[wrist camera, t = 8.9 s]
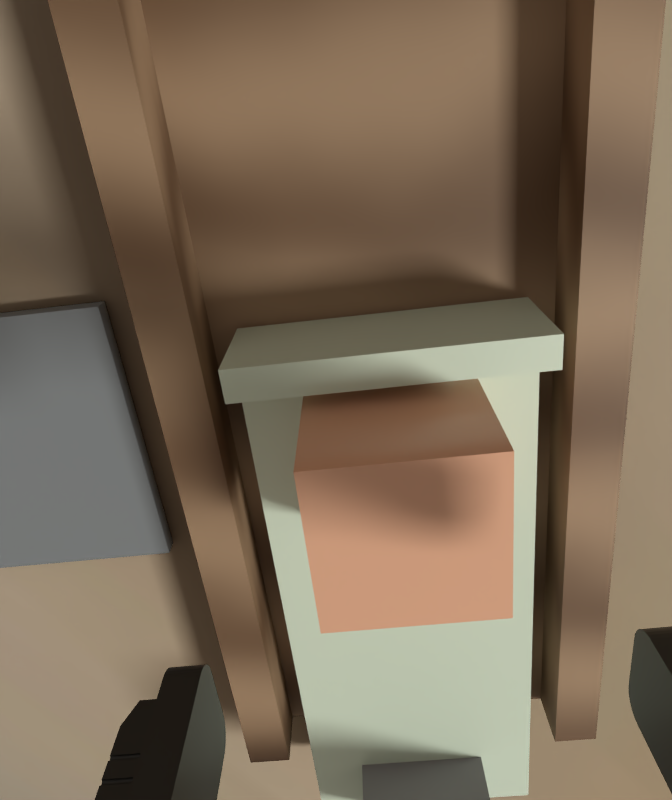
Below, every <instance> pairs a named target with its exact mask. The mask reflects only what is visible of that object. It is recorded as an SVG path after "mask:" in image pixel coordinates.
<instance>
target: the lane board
mask: <svg viewBox="0 0 672 800" xmlns="http://www.w3.org/2000/svg"><path fill="white" fill-rule="evenodd" d="M48 4H49V8H50V12H51V15H52V19H53V23H54V27H55V30H56V34H57V38H58V42H59V45H60V49H61V53H62V56H63V60H64V64H65V68H66V71H67V75H68V79H69V83H70V86H71V90H72V94H73V98H74V101H75V105H76V109H77V113H78V116H79V120H80V124H81V128H82V131H83V135H84V139H85V143H86V146H87V150H88V154H89V158H90V161H91V165H92V169H93V173H94V176H95V180H96V184H97V188H98V191H99V195H100V199H101V203H102V206H103V210H104V214H105V218H106V221H107V225H108V229H109V233H110V236H111V240H112V244H113V248H114V251H115V255H116V259H117V263H118V266H119V270H120V274H121V278H122V281H123V285H124V289H125V293H126V296H127V300H128V304H129V308H130V311H131V315H132V319H133V323H134V326H135V330H136V334H137V338H138V341H139V345H140V349H141V353H142V356H143V360H144V364H145V368H146V371H147V375H148V379H149V383H150V386H151V390H152V394H153V398H154V401H155V405H156V409H157V413H158V416H159V420H160V424H161V428H162V431H163V435H164V439H165V443H166V446H167V450H168V454H169V458H170V461H171V465H172V469H173V473H174V476H175V480H176V484H177V488H178V491H179V495H180V499H181V503H182V506H183V510H184V514H185V517H186V521H187V525H188V529H189V532H190V536H191V540H192V544H193V547H194V551H195V555H196V559H197V562H198V566H199V570H200V574H201V577H202V581H203V585H204V589H205V592H206V596H207V600H208V604H209V607H210V611H211V615H212V619H213V622H214V626H215V630H216V634H217V637H218V641H219V645H220V649H221V652H222V656H223V660H224V664H225V667H226V671H227V675H228V679H229V682H230V686H231V690H232V694H233V697H234V701H235V705H236V709H237V712H238V716H239V720H240V724H241V727H242V731H243V735H244V739H245V742H246V746H247V750H248V754H249V757H250V761H251V762H265V761H279V760H289V756H290V743H291V731H292V718H293V716H305V715H304V710H303V705H302V700H301V695H300V690H299V685H298V680H297V675H296V670H295V665H294V660H293V655H292V650H291V645H290V640H289V635H288V630H287V625H286V620H285V615H284V610H283V605H282V600H281V595H280V590H279V585H278V580H277V575H276V570H275V565H274V560H273V555H272V550H271V545H270V540H269V535H268V530H267V525H266V520H265V515H264V510H263V505H262V500H261V495H260V490H259V485H258V480H257V475H256V470H255V465H254V460H253V455H252V450H251V445H250V440H249V435H248V430H247V425H246V420H245V415H244V410H243V405H242V403H233V404H225V401H224V396H223V392H222V387H221V382H220V377H219V373H218V369H219V367H220V365H221V363H222V361H223V358H224V356H225V354H226V352H227V350H228V348H229V346H230V343H231V341H232V339H233V337H234V335H235V333H236V330H237V328H246V327H255V326H265V325H274V324H283V323H292V322H301V321H311V320H320V319H329V318H338V317H347V316H357V315H366V314H375V313H384V312H393V311H403V310H412V309H421V308H430V307H439V306H448V305H458V304H467V303H476V302H485V301H494V300H504V299H513V298H522V297H528V298H529V299H530V300H531V301H532V302H533V303H534V304H535V305H536V306H537V307H538V308H539V309H540V310H541V311H542V312H543V313H544V314H545V315H546V316H547V317H548V318H549V319H550V320H551V321H552V322H553V323H554V324H555V325H556V326H557V327H558V328H559V329H560V330H561V331H562V332H563V333H564V346H563V369H562V370H556V371H547V372H540V374H539V411H538V448H537V485H536V522H535V559H534V596H533V633H532V670H531V699H539V698H541V701H542V704H543V707H544V710H545V713H546V716H547V719H548V722H549V725H550V728H551V731H552V734H553V736H554V739H555V741H568V740H583V739H596V730H597V719H598V709H599V698H600V688H601V677H602V667H603V656H604V645H605V635H606V624H607V614H608V603H609V593H610V582H611V572H612V561H613V551H614V540H615V530H616V519H617V509H618V498H619V488H620V477H621V467H622V456H623V446H624V435H625V425H626V414H627V403H628V393H629V382H630V372H631V361H632V351H633V340H634V330H635V319H636V309H637V298H638V288H639V277H640V267H641V256H642V246H643V235H644V225H645V214H646V204H647V193H648V183H649V172H650V161H651V151H652V140H653V130H654V119H655V109H656V98H657V88H658V77H659V67H660V56H661V46H662V35H663V25H664V14H665V4H666V0H48Z"/></svg>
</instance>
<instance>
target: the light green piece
mask: <svg viewBox="0 0 672 800" xmlns="http://www.w3.org/2000/svg"><path fill="white" fill-rule="evenodd" d="M563 346H564V333H563V332H562V331H561V330H560V329H559V328H558V327H557V326H556V325H555V324H554V323H553V322H552V321H551V320H550V319H549V318H548V317H547V316H546V315H545V314H544V313H543V312H542V311H541V310H540V309H539V308H538V307H537V306H536V305H535V304H534V303H533V302H532V301H531V300H530V299H529V298H528V297H522V298H513V299H504V300H494V301H485V302H476V303H467V304H458V305H448V306H439V307H430V308H421V309H412V310H403V311H393V312H384V313H375V314H366V315H357V316H347V317H338V318H329V319H320V320H311V321H301V322H292V323H283V324H274V325H265V326H255V327H246V328H237V330H236V333H235V335H234V337H233V339H232V341H231V343H230V346H229V348H228V350H227V352H226V354H225V356H224V358H223V361H222V363H221V365H220V367H219V369H218V373H219V377H220V382H221V387H222V392H223V396H224V401H225V404H233V403H242V405H243V410H244V415H245V420H246V425H247V430H248V435H249V440H250V445H251V450H252V455H253V460H254V465H255V470H256V475H257V480H258V485H259V490H260V495H261V500H262V505H263V510H264V515H265V520H266V525H267V530H268V535H269V540H270V545H271V550H272V555H273V560H274V565H275V570H276V575H277V580H278V585H279V590H280V595H281V600H282V605H283V610H284V615H285V620H286V625H287V630H288V635H289V640H290V645H291V650H292V655H293V660H294V665H295V670H296V675H297V680H298V685H299V690H300V695H301V700H302V705H303V710H304V715H305V720H306V725H307V730H308V735H309V740H310V745H311V750H312V755H313V760H314V765H315V770H316V775H317V780H318V785H319V790H320V795H321V800H490V797H504V796H520V795H528V781H529V744H530V707H531V670H532V633H533V596H534V559H535V522H536V485H537V448H538V411H539V374H540V372H547V371H556V370H562V369H563ZM468 379H478V380H479V382H480V384H481V386H482V388H483V390H484V392H485V394H486V396H487V398H488V400H489V402H490V404H491V406H492V408H493V410H494V412H495V414H496V416H497V418H498V420H499V422H500V424H501V426H502V428H503V430H504V432H505V434H506V436H507V438H508V440H509V442H510V444H511V446H512V448H513V450H514V539H513V618H509V619H496V620H484V621H471V622H459V623H447V624H434V625H422V626H409V627H397V628H384V629H372V630H359V631H347V632H335V633H322V634H321V632H320V626H319V620H318V614H317V608H316V603H315V597H314V591H313V585H312V579H311V573H310V567H309V561H308V555H307V550H306V544H305V538H304V532H303V526H302V520H301V514H300V508H299V502H298V497H297V491H296V485H295V479H294V473H293V471H294V463H295V456H296V448H297V440H298V433H299V425H300V417H301V409H302V402H303V396H311V395H321V394H331V393H341V392H350V391H360V390H370V389H380V388H390V387H399V386H409V385H419V384H429V383H439V382H448V381H458V380H468Z"/></svg>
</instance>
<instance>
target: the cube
mask: <svg viewBox="0 0 672 800" xmlns="http://www.w3.org/2000/svg"><path fill="white" fill-rule="evenodd" d="M293 473H294V479H295V485H296V491H297V497H298V502H299V508H300V514H301V520H302V526H303V532H304V538H305V544H306V550H307V555H308V561H309V567H310V573H311V579H312V585H313V591H314V597H315V603H316V608H317V614H318V620H319V626H320V632H321V634H322V633H335V632H347V631H359V630H372V629H384V628H397V627H409V626H422V625H434V624H447V623H459V622H471V621H484V620H496V619H509V618H513V539H514V450H513V448H512V446H511V444H510V442H509V440H508V438H507V436H506V434H505V432H504V430H503V428H502V426H501V424H500V422H499V420H498V418H497V416H496V414H495V412H494V410H493V408H492V406H491V404H490V402H489V400H488V398H487V396H486V394H485V392H484V390H483V388H482V386H481V384H480V382H479V380H478V379H468V380H458V381H448V382H439V383H429V384H419V385H409V386H399V387H390V388H380V389H370V390H360V391H350V392H341V393H331V394H321V395H311V396H303V402H302V409H301V417H300V425H299V433H298V440H297V448H296V456H295V463H294V471H293Z"/></svg>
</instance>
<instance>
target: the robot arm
mask: <svg viewBox="0 0 672 800" xmlns="http://www.w3.org/2000/svg"><path fill="white" fill-rule="evenodd" d="M629 698H630V703H631V707H632V711H633V714H634V717H635V720H636V722H637V724H638V726H639V728H640V730H641V732H642V734H643V736H644V738H645V741H646V743H647V745H648V747H649V749H650V751H651V753H652V755H653V757H654V759H655V761H656V763H657V765H658V767H659V769H660V771H661V773H662V775H663V777H664V779H665V781H666V783H667V785H668V787H669V789H670V791H671V793H672V627H661V628H649V629H639V630H637V631H636V633H635V638H634V646H633V654H632V663H631V671H630V679H629ZM225 741H226V732H225V721H224V716H223V712H222V709H221V705H220V701H219V698H218V694H217V690H216V687H215V683H214V680H213V676H212V672H211V669H210V667H209V666H208V665H195V666H183V667H171V668H168V669H167V671H166V672H165V674H164V677H163V680H162V684H161V687H160V690H159V694H158V697H157V699H152V700H140V701H139V702H138V704H137V705H136V706H135V708H134V709H133V710H132V711H131V713H130V714H129V715H128V717H127V718H126V719H125V721H124V722H123V723H122V725H121V726H120V729H119V731H118V734H117V737H116V740H115V743H114V746H113V749H112V752H111V754H110V761H108V763H107V766H106V769H105V772H104V775H103V777H102V785H101V786H99V789H98V792H97V795H96V798H95V800H217V794H218V789H219V783H220V777H221V771H222V765H223V759H224V753H225Z"/></svg>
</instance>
